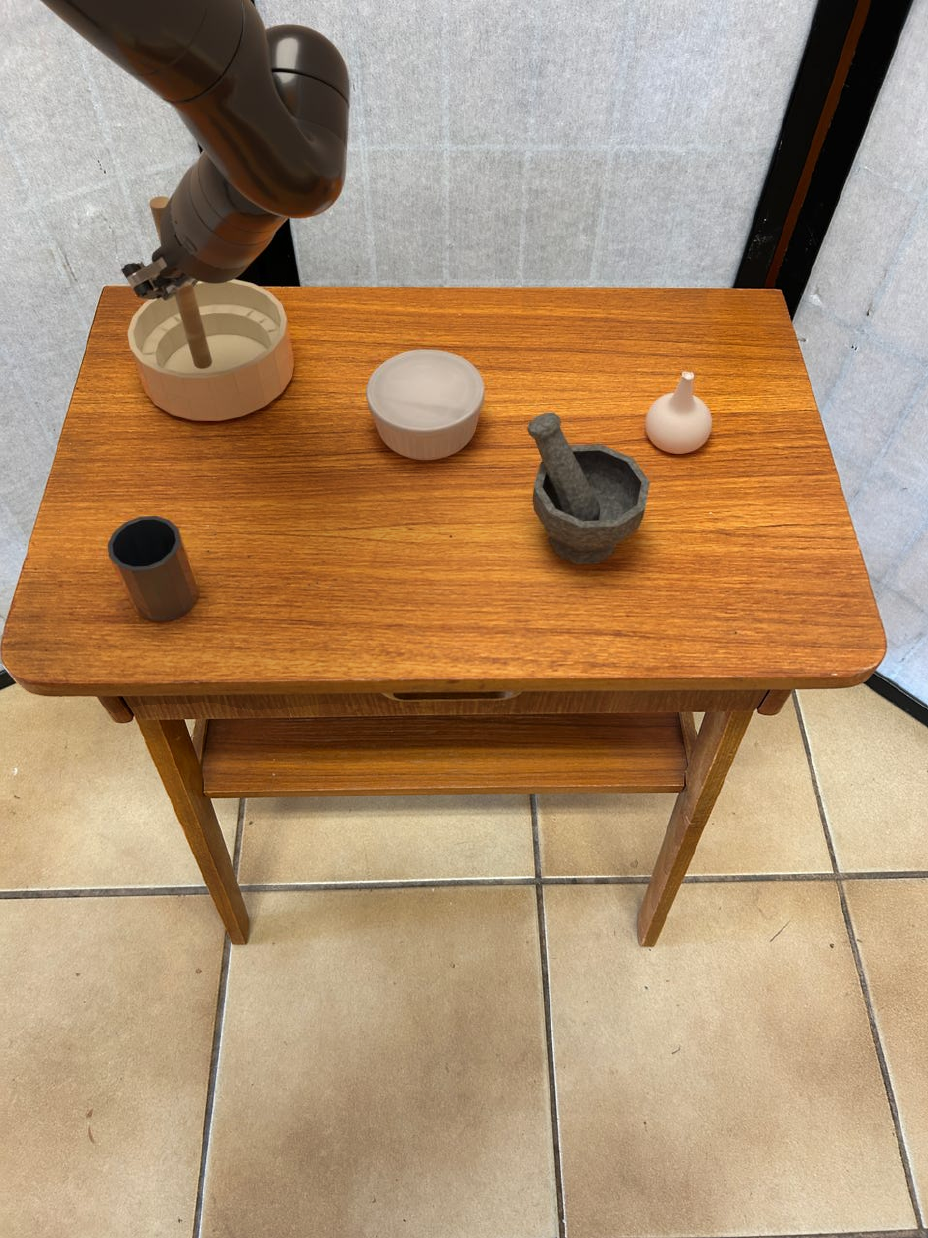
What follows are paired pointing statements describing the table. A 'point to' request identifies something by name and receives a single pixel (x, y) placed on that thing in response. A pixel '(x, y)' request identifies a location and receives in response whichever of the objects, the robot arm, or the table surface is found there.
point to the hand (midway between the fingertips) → (172, 283)
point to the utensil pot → (154, 568)
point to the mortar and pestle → (585, 494)
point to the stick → (186, 304)
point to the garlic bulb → (679, 419)
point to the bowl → (214, 352)
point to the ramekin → (426, 403)
